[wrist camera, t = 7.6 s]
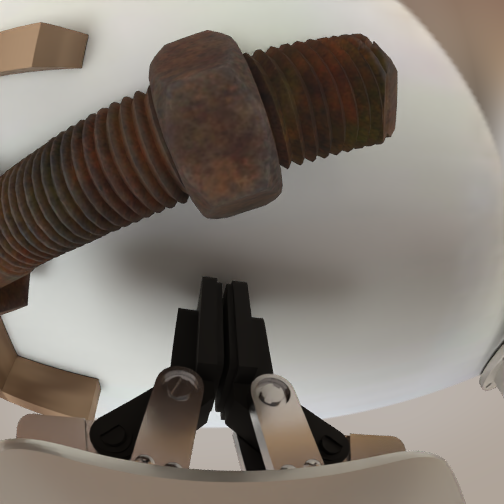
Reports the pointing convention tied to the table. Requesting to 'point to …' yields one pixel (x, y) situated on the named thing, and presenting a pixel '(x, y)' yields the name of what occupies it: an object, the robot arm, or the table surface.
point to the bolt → (193, 142)
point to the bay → (3, 354)
